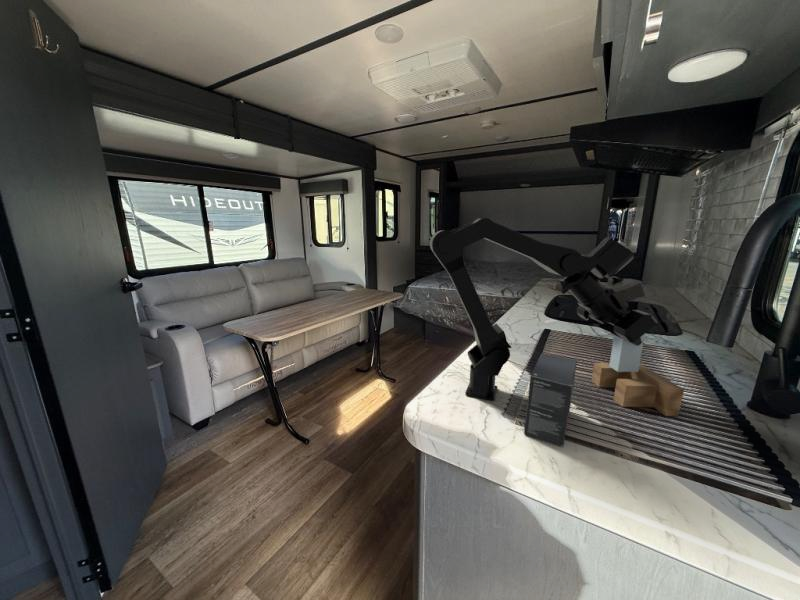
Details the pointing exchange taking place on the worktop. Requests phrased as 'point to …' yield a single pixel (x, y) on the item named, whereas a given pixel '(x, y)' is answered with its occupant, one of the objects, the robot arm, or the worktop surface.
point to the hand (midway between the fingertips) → (634, 341)
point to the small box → (550, 398)
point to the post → (625, 355)
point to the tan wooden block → (640, 388)
